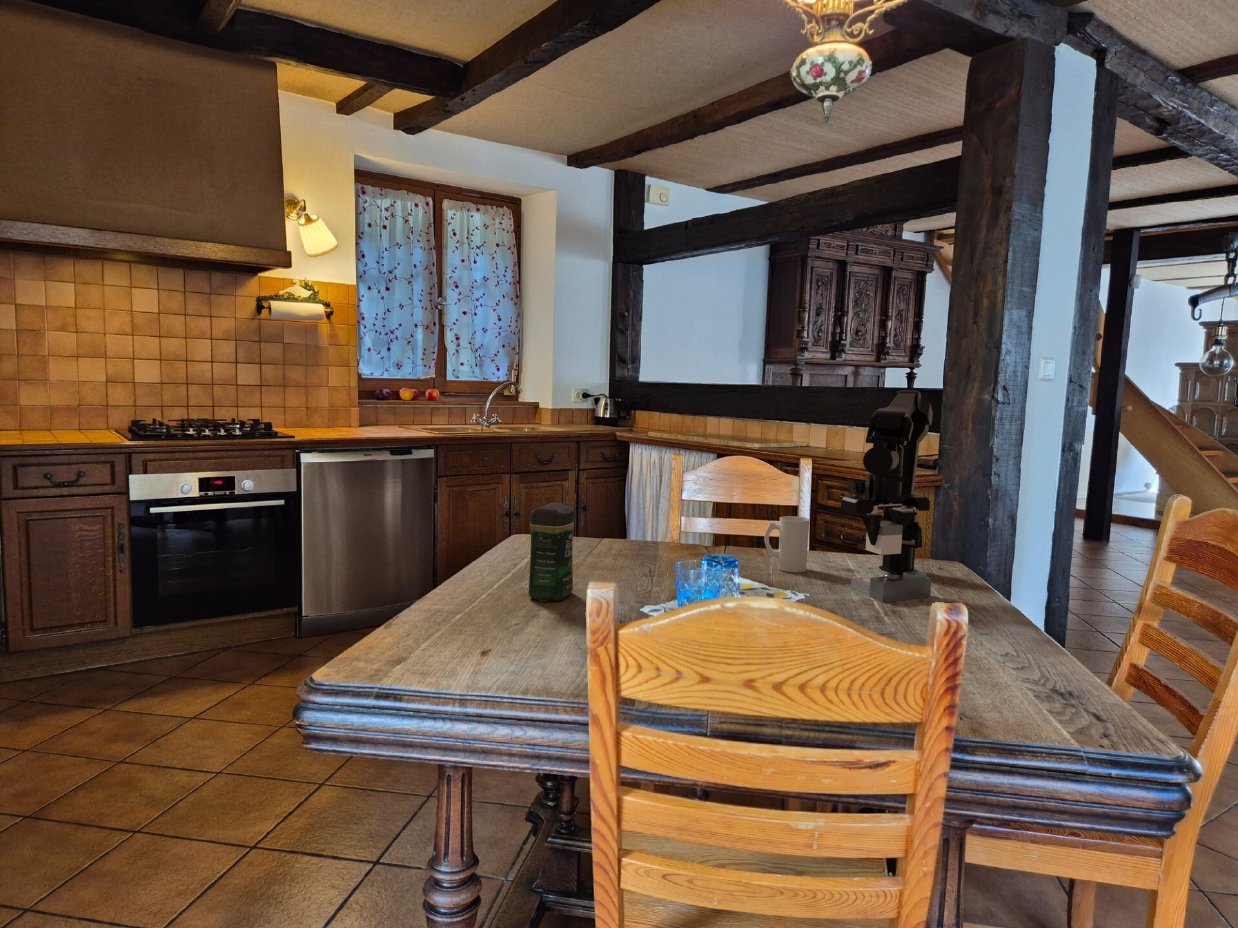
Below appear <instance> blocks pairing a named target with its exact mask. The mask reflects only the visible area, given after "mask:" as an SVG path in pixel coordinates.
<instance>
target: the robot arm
mask: <svg viewBox="0 0 1238 928" xmlns="http://www.w3.org/2000/svg"><path fill="white" fill-rule="evenodd" d="M933 416H934V414H933V409H932V404H931V402H930V401H928V400H926V399H925V398H924V397H922V395H921V392H920V391H917V390H902V389H901V390H899V391H896V392H895V397H894V399H893V400H892V402H891V403H890V404H889V405H888V406H887V407H882V408H878V409H876V410H875V411H874V413H873V414H872V415H871V416H870V420H869V424H868V428H867V432H866V436H865V437H866V438H865V444H872V447H871V448H869V449H868V450H867V451H866V452H865V453H864V456H863V459H862V464H863V467H864V469H865V470H866V471H867V472H868V473H869V474H868V476H867V481H864V482H863V481H862V482H861V481H860V479H856V478H855V479H854V478H853V479H850V480H848V483H847V493H848V495H849V496H844V497H843V498H842V499H841V501H840V510H841V511H843V512H847V513H851V514H855V515H858V516H859V518H860V519H861V520H862V522H863V525H864V528H865V531H866V534H868V537H869V541H870V544H871V545H875V544H876V541H877V538H878V533H879V528H880V523H881V521H889V522H893V523H897V524H900V525H903V527H902V543H901V553H900V554H886V555H882V563H881V564H882V565H878V568H879V569H881V570H884V571H886V572H888V573H892V574H897V575H903V572H911V571H920V570H919V569H917V568H915V558H916V549H919V548H920V549H921V548H923V543H924V539H923V538H924V537H923V528H922V527H921V523H920V522H919V515H918V512H927V511H928V512H929V511H930V508H931V501H930V500H929V498H928V496H926V495H925V496H923V495H920V494H919V495H918V494H915V493H914V492H915V486H916V475H917V468H918V461H919V448H920V443H921V442H922V441H923V440H924V439H925V437H926V436H928V434H929V426H931V425H932V423H933ZM879 509H883V514H880V513H878V511H879ZM916 510H917V511H918V512H917V511H916Z"/></svg>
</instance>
